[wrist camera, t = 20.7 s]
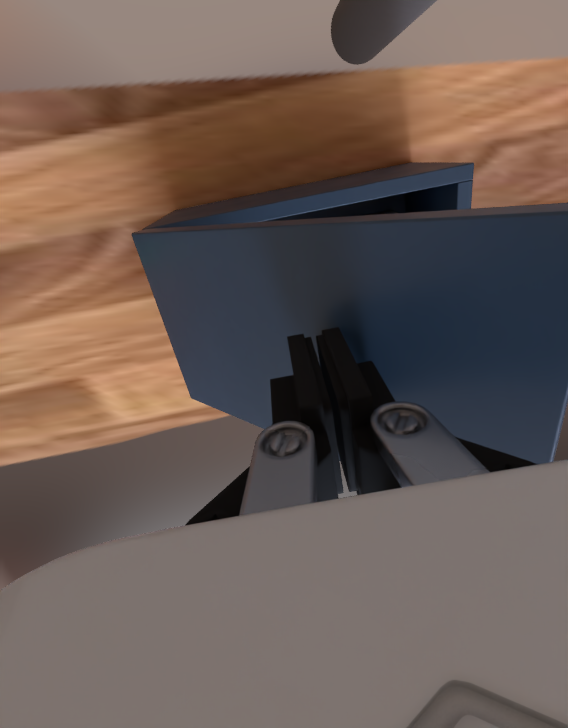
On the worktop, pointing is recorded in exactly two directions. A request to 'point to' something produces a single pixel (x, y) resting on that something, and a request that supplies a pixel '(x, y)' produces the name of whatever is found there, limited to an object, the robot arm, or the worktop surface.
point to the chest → (342, 197)
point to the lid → (380, 312)
